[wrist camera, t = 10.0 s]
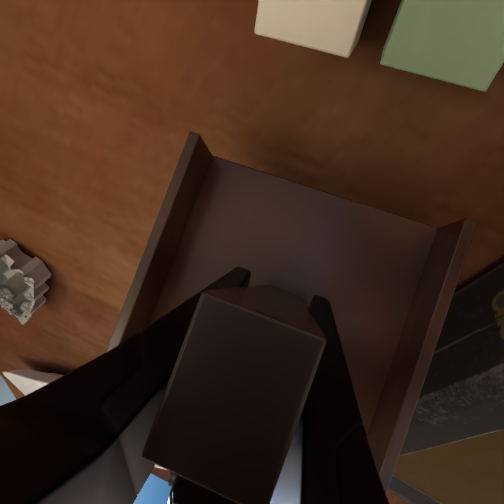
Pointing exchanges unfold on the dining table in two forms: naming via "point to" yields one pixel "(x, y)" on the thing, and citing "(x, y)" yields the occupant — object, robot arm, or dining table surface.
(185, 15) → the dining table surface
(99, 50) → the dining table surface
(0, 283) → the grey castle model
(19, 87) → the dining table surface
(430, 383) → the cash box
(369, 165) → the dining table surface
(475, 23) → the sage block
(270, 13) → the cream block
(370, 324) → the brown tray with post
